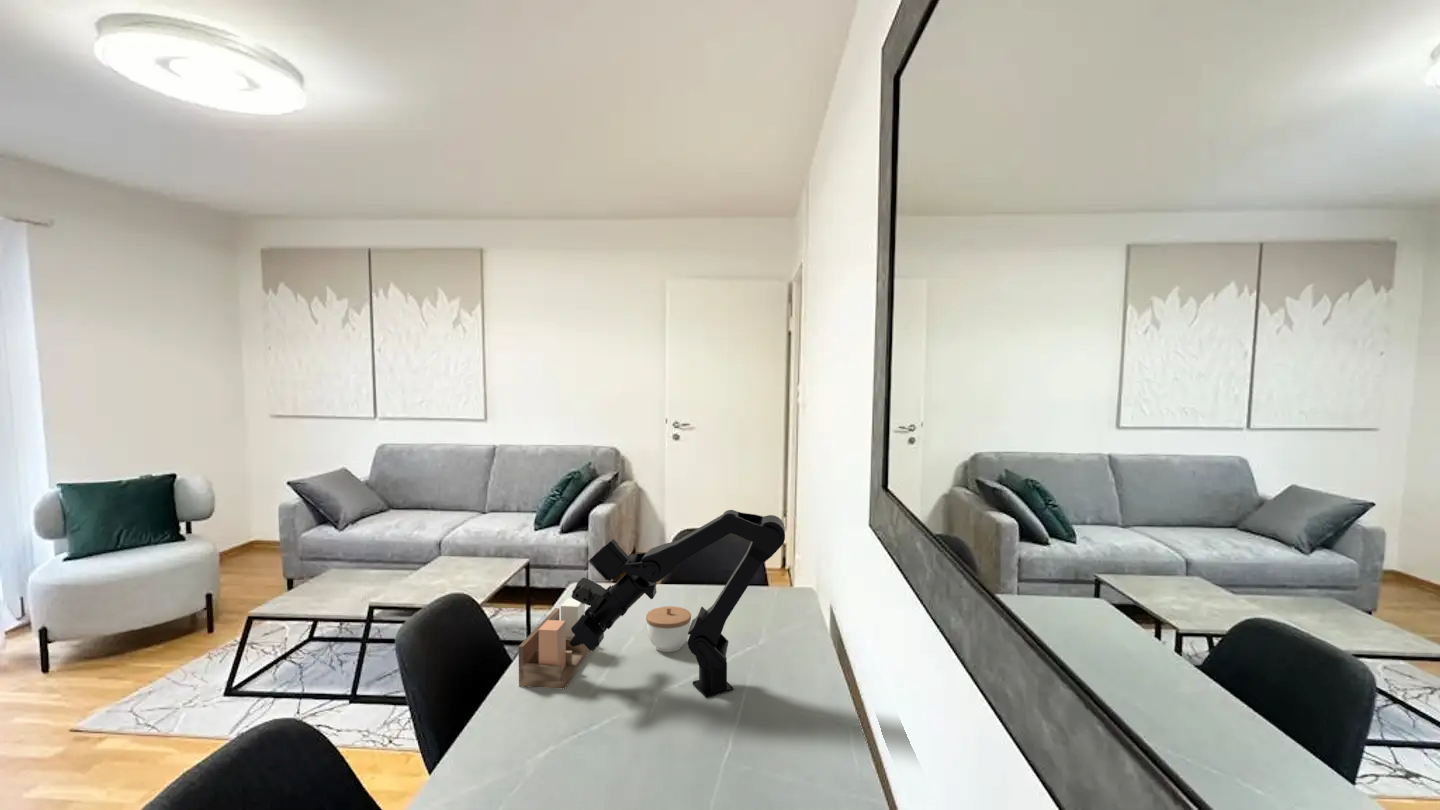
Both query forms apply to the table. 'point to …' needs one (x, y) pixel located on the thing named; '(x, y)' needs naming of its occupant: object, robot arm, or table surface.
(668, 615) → the lidded jar
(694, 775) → the table surface
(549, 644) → the light orange tall block
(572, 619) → the white tall block
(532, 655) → the wooden desk organizer
